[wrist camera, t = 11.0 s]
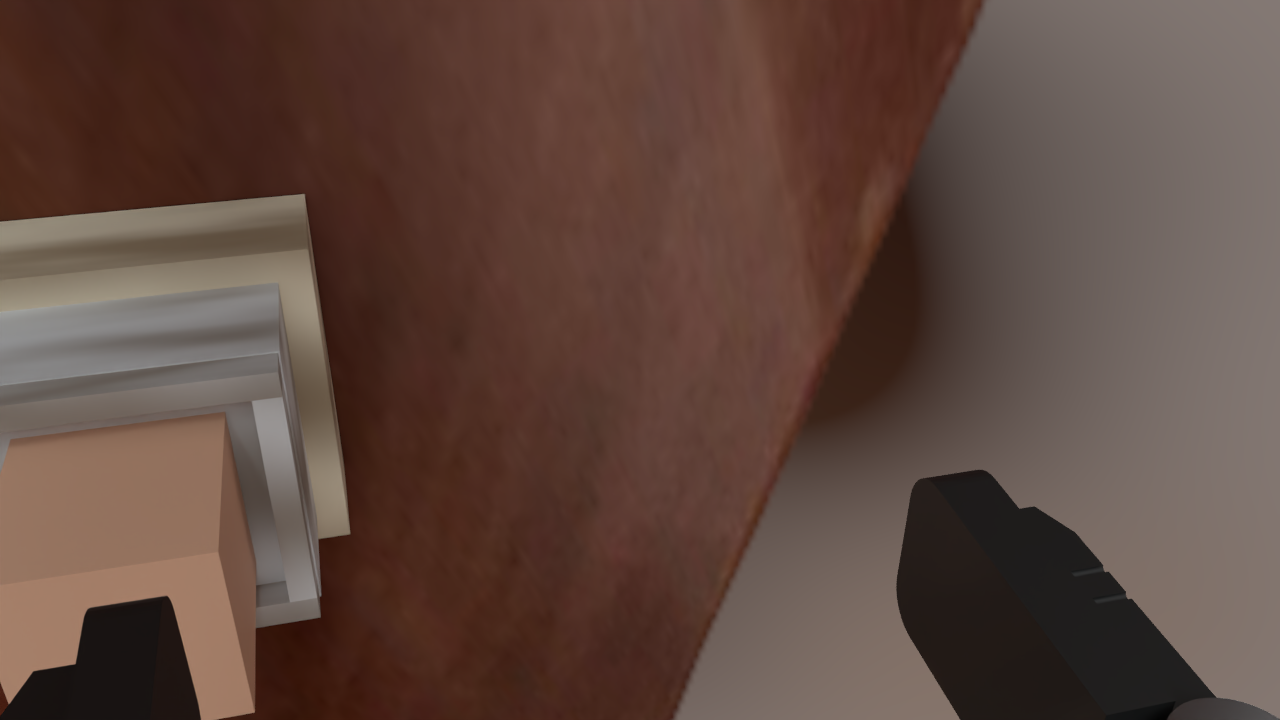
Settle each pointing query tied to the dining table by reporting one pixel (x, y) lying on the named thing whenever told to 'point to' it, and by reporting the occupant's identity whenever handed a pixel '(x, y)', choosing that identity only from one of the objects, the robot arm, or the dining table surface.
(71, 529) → the top block
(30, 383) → the stepped translucent block
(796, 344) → the dining table surface
